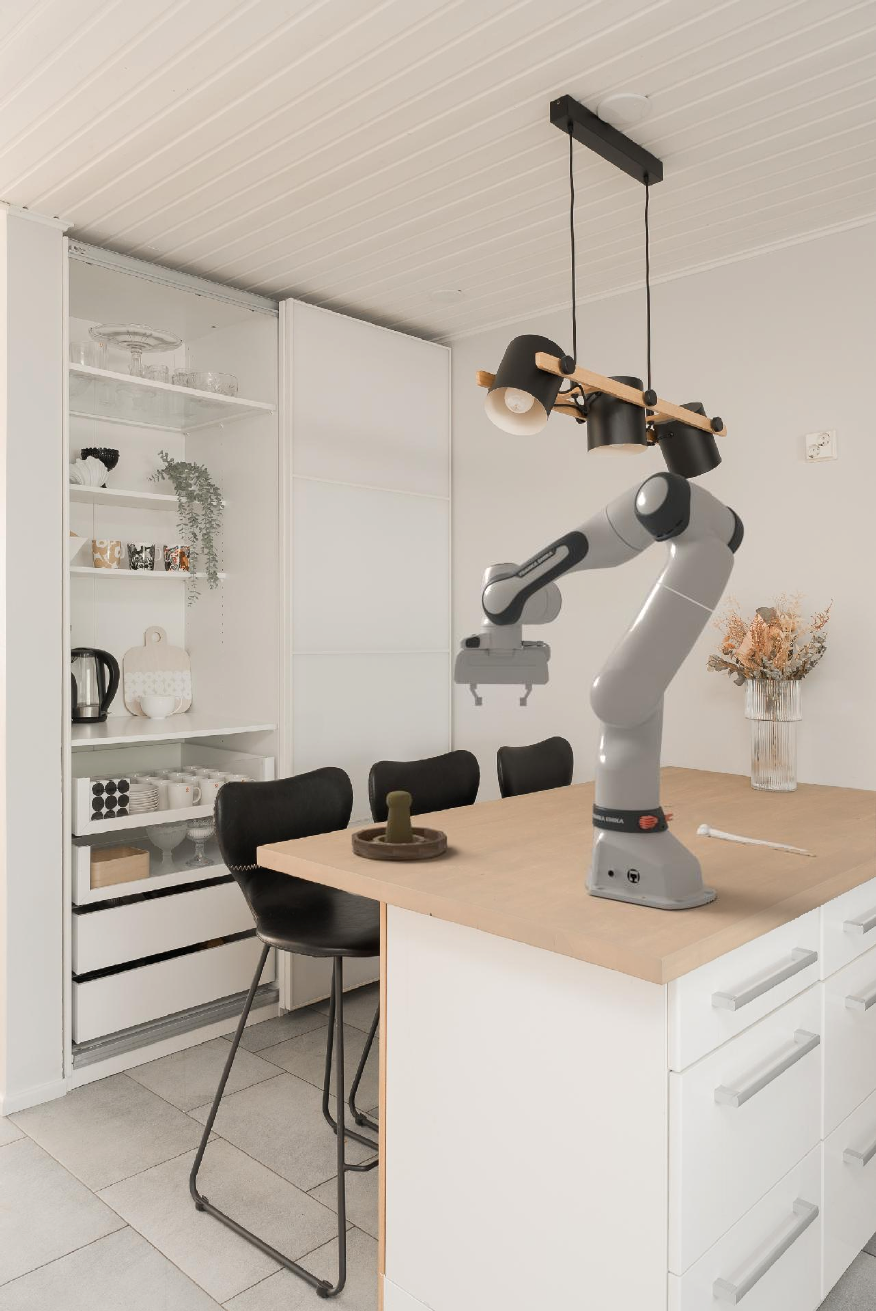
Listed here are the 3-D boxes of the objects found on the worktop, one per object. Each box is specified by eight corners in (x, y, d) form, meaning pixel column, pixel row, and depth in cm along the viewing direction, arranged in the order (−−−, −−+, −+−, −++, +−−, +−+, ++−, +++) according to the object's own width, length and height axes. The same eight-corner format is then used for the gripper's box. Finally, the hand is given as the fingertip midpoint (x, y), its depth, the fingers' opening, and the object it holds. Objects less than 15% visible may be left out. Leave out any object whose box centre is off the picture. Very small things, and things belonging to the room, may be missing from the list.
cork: (409, 849, 188) (409, 794, 188) (380, 847, 190) (380, 793, 190) (417, 843, 194) (417, 789, 194) (389, 841, 196) (389, 788, 195)
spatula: (822, 856, 189) (822, 842, 189) (811, 859, 187) (811, 845, 187) (705, 834, 211) (705, 821, 211) (693, 836, 209) (693, 824, 209)
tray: (464, 851, 191) (464, 836, 191) (390, 865, 179) (390, 849, 179) (406, 836, 205) (406, 823, 205) (334, 848, 193) (334, 834, 193)
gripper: (550, 640, 201) (549, 705, 201) (454, 640, 203) (454, 704, 203) (551, 640, 195) (550, 707, 195) (452, 640, 197) (452, 706, 197)
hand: (500, 705), depth 199 cm, fingers open, 8 cm apart
